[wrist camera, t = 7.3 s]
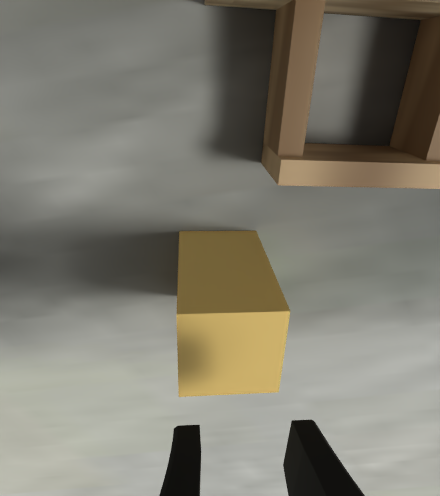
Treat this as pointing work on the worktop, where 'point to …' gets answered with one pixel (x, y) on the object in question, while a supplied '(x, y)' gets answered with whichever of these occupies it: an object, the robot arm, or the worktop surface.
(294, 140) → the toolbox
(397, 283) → the worktop surface
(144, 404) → the worktop surface
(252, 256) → the yellow block
